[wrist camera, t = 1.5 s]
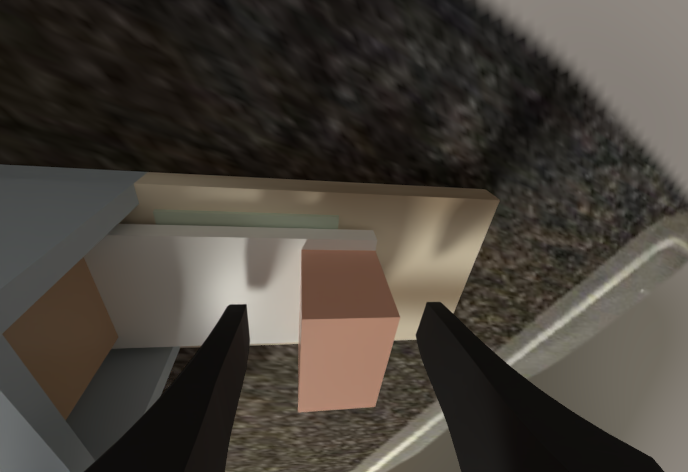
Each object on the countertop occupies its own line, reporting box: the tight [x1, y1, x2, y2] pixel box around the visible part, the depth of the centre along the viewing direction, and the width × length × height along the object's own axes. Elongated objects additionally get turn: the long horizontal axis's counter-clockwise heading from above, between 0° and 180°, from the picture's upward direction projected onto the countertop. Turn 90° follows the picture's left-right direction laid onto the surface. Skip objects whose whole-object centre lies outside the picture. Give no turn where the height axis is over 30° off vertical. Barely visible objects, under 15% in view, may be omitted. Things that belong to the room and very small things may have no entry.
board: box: [118, 172, 500, 348], centre depth 13 cm, size 9×27×1 cm, turn 84°
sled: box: [2, 224, 400, 421], centre depth 10 cm, size 6×17×5 cm, turn 84°
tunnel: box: [0, 164, 180, 472], centre depth 10 cm, size 9×8×8 cm
